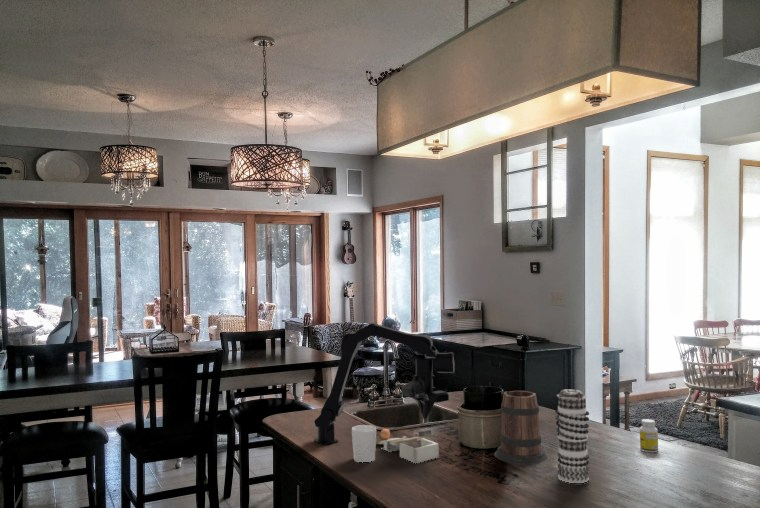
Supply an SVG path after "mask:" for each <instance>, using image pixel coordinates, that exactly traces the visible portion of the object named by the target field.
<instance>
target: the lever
mask: <svg viewBox="0 0 760 508" xmlns="http://www.w3.org/2000/svg"><path fill="white" fill-rule="evenodd" d="M417 432H418V436H413V437H407V438H403V437H391V436H390V437H389V438H388V439H386V440H387V441H389V445H400V443H403V444H408V445H409V444H413V443H417V442H419V441H421V438H424V439H427V440H429V439H432V438H436V435H435V433H432V431H431V429H423V430H418V431H417ZM376 445H384V439H382V438H381V436H380V435H379V436H376Z"/></svg>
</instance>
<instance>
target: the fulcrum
mask: <svg viewBox="0 0 760 508" xmlns="http://www.w3.org/2000/svg"><path fill="white" fill-rule="evenodd" d="M402 438H408V436H406V435H403V436H402ZM406 445H408V446H409V444H406ZM380 448H381V449H380V450H382V449H383V450H382V451H384V450H386V451H388V452H387V453H389V452H390V453H393V452H392V451H394V452H396V451H397V450H398V451H400V445H389V441H387V440H384V444H383V447H380ZM386 451H385V452H386ZM398 451H397V452H398Z"/></svg>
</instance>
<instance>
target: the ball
mask: <svg viewBox="0 0 760 508" xmlns="http://www.w3.org/2000/svg"><path fill="white" fill-rule="evenodd" d="M379 436H381V438H382V439H384V440H386V439H388V438H389V437H390V438H391V431H390V430H389V429H386V428H384V429H381V431H380V433H379Z"/></svg>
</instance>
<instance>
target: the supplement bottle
mask: <svg viewBox="0 0 760 508" xmlns="http://www.w3.org/2000/svg"><path fill="white" fill-rule="evenodd" d="M658 436H659V430H658V428H657V427H656V422H655V420H654V419H651V418H650V419H649V418H643V419H641V426H640V427H639V445H640V446H639V447H640V448H639V449H640V450H641V451H642V450H644V451H648V452H656V453H658V452H659V437H658ZM644 451H643V452H644ZM657 451H658V452H657ZM648 452H647V453H648Z"/></svg>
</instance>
